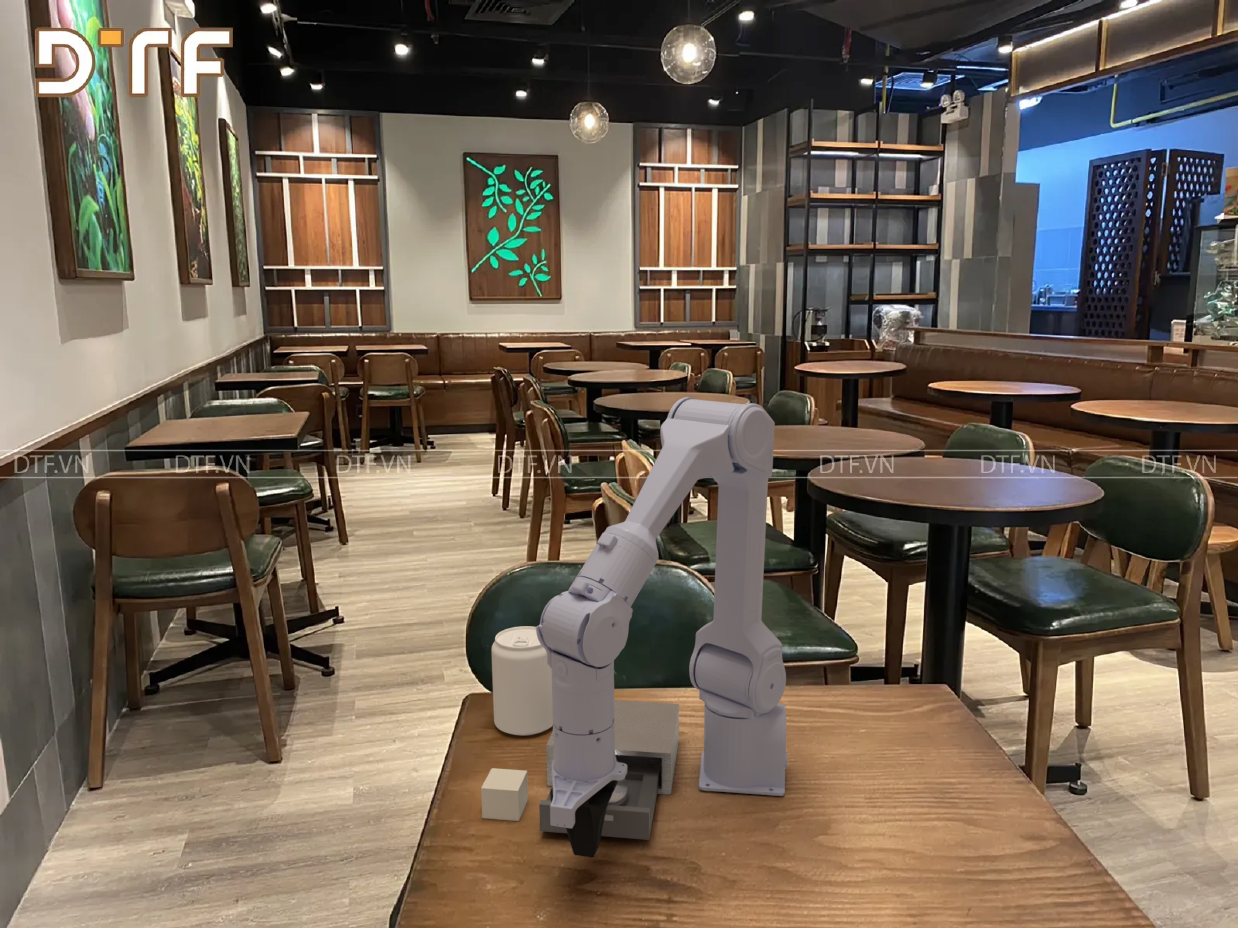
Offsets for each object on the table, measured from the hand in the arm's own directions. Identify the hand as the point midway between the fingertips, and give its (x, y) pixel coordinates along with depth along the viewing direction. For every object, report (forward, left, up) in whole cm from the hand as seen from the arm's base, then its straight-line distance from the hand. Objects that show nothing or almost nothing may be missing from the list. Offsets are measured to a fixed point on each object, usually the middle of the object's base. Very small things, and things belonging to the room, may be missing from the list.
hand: (585, 852), depth 83 cm
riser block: (+11, -9, -2) cm, 14 cm away
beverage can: (+13, -28, -2) cm, 31 cm away
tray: (0, -10, -1) cm, 10 cm away
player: (0, -20, -2) cm, 20 cm away
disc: (0, -10, -1) cm, 10 cm away
